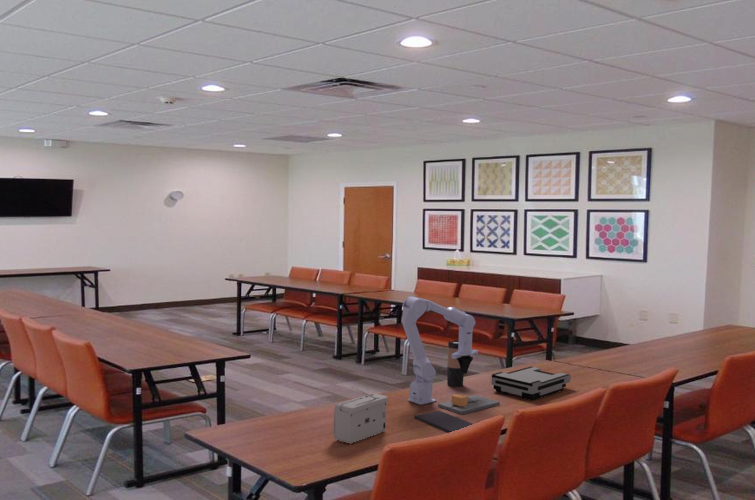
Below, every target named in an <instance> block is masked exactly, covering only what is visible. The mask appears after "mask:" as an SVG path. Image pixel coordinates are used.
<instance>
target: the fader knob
mask: <svg viewBox="0 0 755 500" xmlns="http://www.w3.org/2000/svg"><path fill="white" fill-rule="evenodd" d="M468 397H469V396H468V395H464V394H460V393H457V394H452V395H451V401H452V404H454V405H457V406H460V407H461V406H465V405H467V401H468Z"/></svg>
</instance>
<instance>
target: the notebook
mask: <svg viewBox="0 0 755 500" xmlns="http://www.w3.org/2000/svg"><path fill="white" fill-rule="evenodd" d="M414 419H415V420H417V419H418V421H419V422H422V423H425V424H427V425H429V426H432V427H434V428H437V429H438V430H441V431H443V432H446V433H448V432H452V431H455V430H459V429H461V428H464V427H467V426H469V425H472V424H473V422H469V421H468V420H465V419H461V418H459V417H457V416H454V415H451V414H449V413H446V412H444V411H442V410H436V411H430V412H425V413H421V414H416V415H414Z"/></svg>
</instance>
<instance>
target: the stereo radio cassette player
mask: <svg viewBox="0 0 755 500" xmlns="http://www.w3.org/2000/svg"><path fill="white" fill-rule="evenodd" d="M351 389H354V390H356V391H357V392H360V393H362V394H364V395H362V396H358V397H355V398H351V399H349V400H346V401H342V402H339V403H335V405H334V412H333V416H334V417H333V438H334V439H335V440H340V441H344V442H348V443H353V442H355V443H357V442H356V441H358V442H360V441H359V440H361V441H363V440H366V439H368V438H367V437H369V438H370V436H371V437H373V435H374V436H376V435H379V434H382V433H381V432H383V433H384V432H385V431H386V428H387V404H388V402H389V397H388V395H387V396H386V395H383V394H380V393H376V392H371V393H367V392H364V391H362V390H361V389H359V388H357V387H356V388H355V387H353V386H351ZM365 438H366V439H365ZM362 439H363V440H362ZM340 441H339V442H340ZM344 442H343V443H344ZM353 444H354V443H353Z"/></svg>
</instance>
